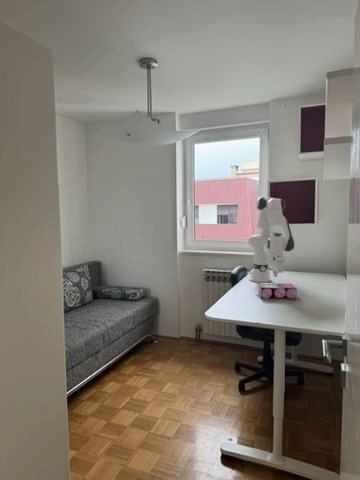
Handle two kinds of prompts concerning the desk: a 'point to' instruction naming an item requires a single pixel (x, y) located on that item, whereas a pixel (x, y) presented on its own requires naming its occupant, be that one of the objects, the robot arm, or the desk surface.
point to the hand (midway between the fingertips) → (275, 276)
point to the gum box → (277, 291)
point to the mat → (278, 299)
